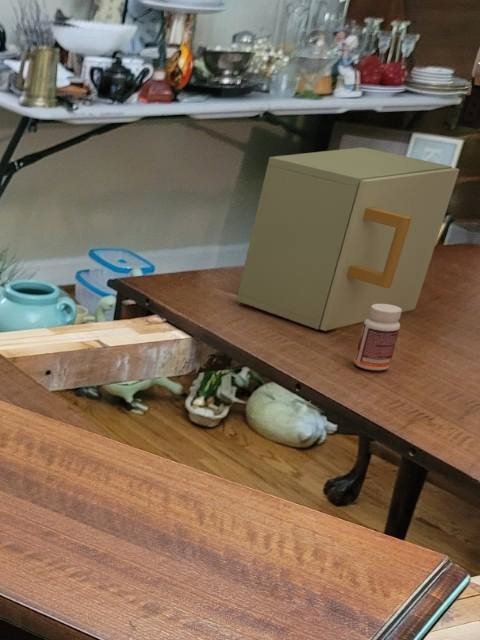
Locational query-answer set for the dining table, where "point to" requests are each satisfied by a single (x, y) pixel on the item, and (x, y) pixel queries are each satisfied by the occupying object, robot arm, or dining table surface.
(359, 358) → the pill bottle
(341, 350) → the dining table surface
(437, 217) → the cupboard door
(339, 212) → the cupboard
